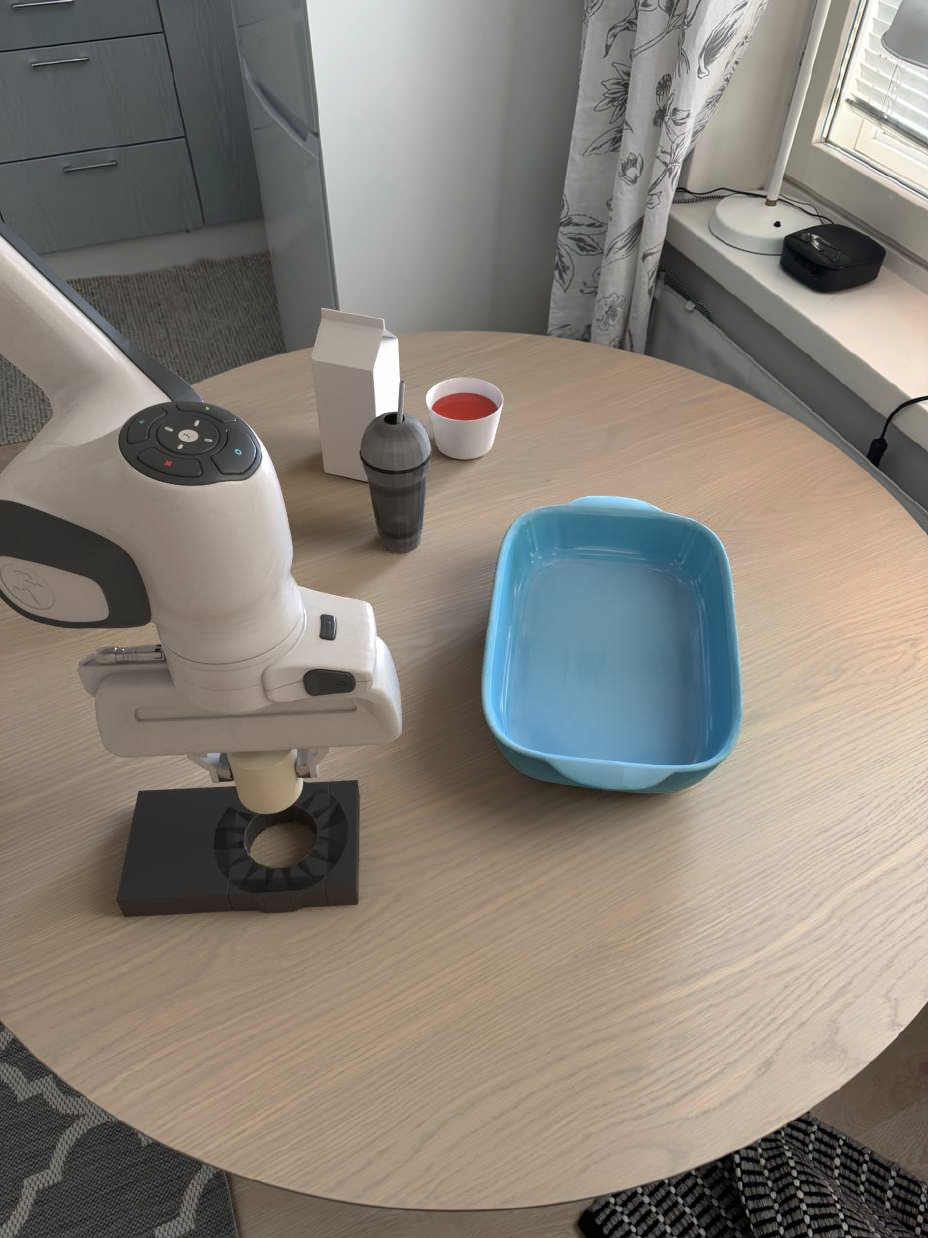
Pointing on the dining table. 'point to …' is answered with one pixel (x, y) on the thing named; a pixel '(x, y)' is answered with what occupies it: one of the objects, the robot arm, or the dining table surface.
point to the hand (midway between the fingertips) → (267, 772)
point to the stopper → (266, 779)
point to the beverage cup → (397, 475)
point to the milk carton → (352, 385)
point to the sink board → (237, 852)
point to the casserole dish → (612, 647)
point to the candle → (464, 416)
